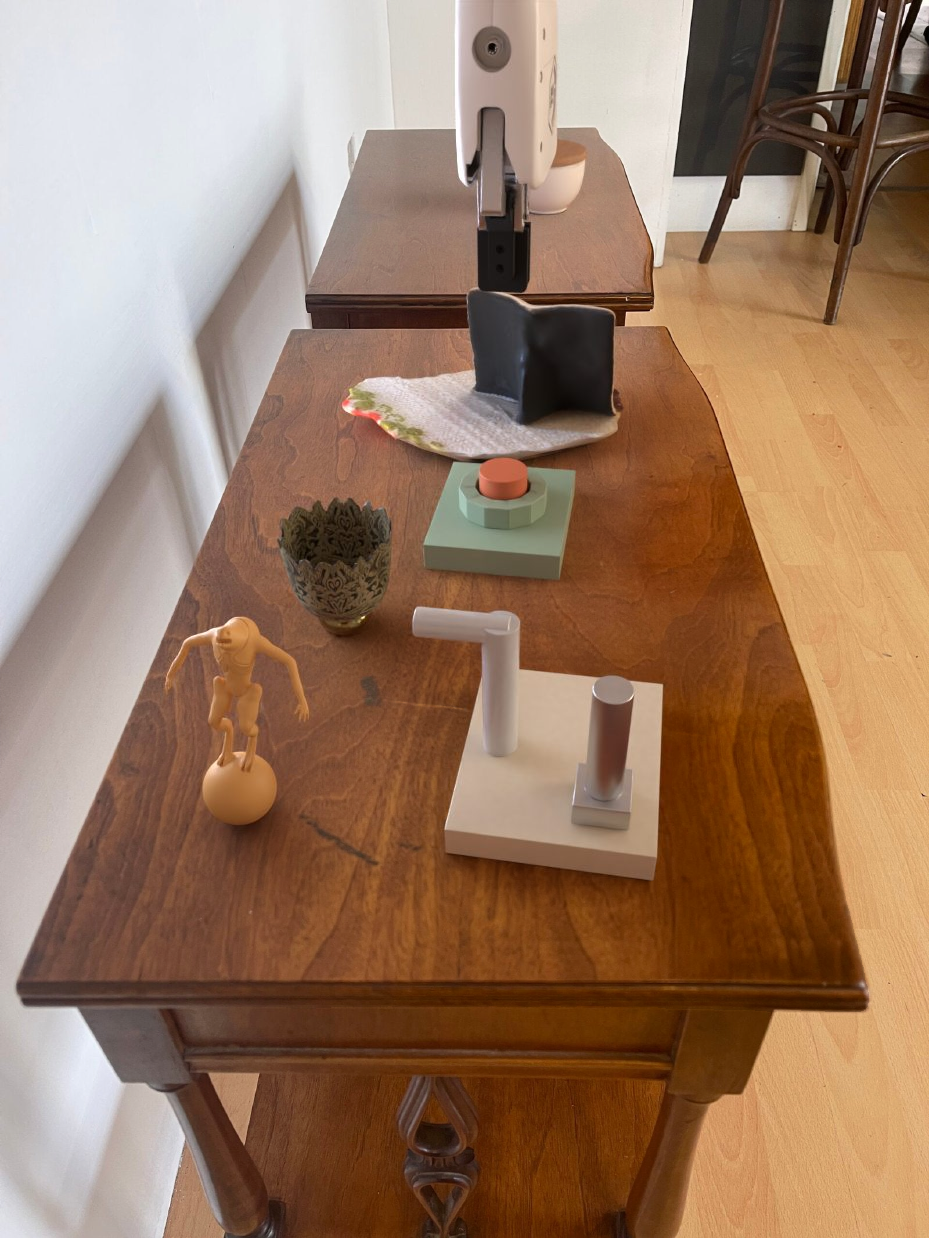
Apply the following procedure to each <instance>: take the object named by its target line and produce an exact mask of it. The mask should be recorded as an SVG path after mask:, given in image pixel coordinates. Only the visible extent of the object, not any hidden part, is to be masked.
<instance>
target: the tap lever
mask: <svg viewBox="0 0 929 1238" xmlns="http://www.w3.org/2000/svg"><path fill="white" fill-rule="evenodd" d="M629 681H630V680H629V679H627V678H625V677H623V676H620V675H604V676H601V677H599V679H598V680H597V681H596V682H595V683H594V685H593V688H592V700H591V712H590V724H589V736H588V748H587V760H586V764H584V763H578V764H577V771H576V779H575V787H574V795H573V803H572V816H571V823H574V824H581V825H589V826H597V827H605V828H613V829H621V830H629V825H630V817H631V807H632V791H633V775H634V770H633V769H626V759H627V751H628V743H629V735H630V727H631V718H632V710H633V702H634V694H635V690H634V687H633V685H632V684H631V683H630V682H629Z"/></svg>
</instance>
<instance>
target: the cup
mask: <svg viewBox="0 0 929 1238" xmlns="http://www.w3.org/2000/svg"><path fill="white" fill-rule="evenodd" d="M373 509H374V508H373V506H372V503H371V501H370V500H367V501H366V502H365V503H364V504H363V506H362V508H361V507H360V505H359V504H357V503H356V501H355V500H354V498H352V497H347V498H346V500H345V502H344V501H342V500H341V499H340V498H339V497H338V496H335V497H333V498H332V499H331V501H330V502H329V504H328V505H327V510H326V508H325V507H323V504H322V501H321V500H319V499H317V500H316V501H314V503H313V505H312V508H311V510H308V509H306V508H304V507H303V506H298V505H297V506H294V508H293V509H292V511H290V514H289V515H288V518H285V517H282V518H280V520H279V528H280V531H281V532H280V533H281V535H280V536H279V537H275V540H276V543H277V545H278V548H279V551H280V555H281V558H282V560H283V565H284V568H285V570H286V574H287V576H288V579H289V582H290V585H291V588H292V590H293V592H294V595H295V597H296V599H297V600H298V602H299V603H300V605H301V606H302V607H303V608H304V610H305V611H307V612H308V613H310V615H312V616H314V617H316V618H318V621H319V623H320V625H321V626H322V628H323V629H325V630H326V631H327V632H328V633H330V634H331V635H335V636H343V637H344V636H352V635H355V634H358V633H360V632H362V631H363V630H364V629H366V628H367V627H368V625H369V624H370V622H371V619H372V617H373V612H374V610H376V608H378V607H379V606H380V604H381V602H382V601H383V600H384V598H385V595H386V593H387V591H388V587H389V581H390V576H391V566H392V548H393V547H392V544H393V533H392V530H393V528H392V518H391V517H388V513H387V510H386V508H385V507H383V506H381V507H379V508H376V509H374V510H373Z"/></svg>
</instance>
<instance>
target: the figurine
mask: <svg viewBox="0 0 929 1238" xmlns="http://www.w3.org/2000/svg"><path fill="white" fill-rule="evenodd" d="M207 645H212V651H213V657H214V659H215V661H216V663H217V664H218V666H220V669H221V672H222V673H223V675H224V676H220V675H217V676H215V677H214V678H213V680H212V683H213V696H212V700H211V705H210V712H209V716H208V718H207V722H208V724H209V725H210V727H211V728H212V729H214V730H218V731H221V732H225V733H224V738H223V744H222V745H223V746H222V750H221V754H220V755H219V756H218V757H217V760H215V761H214V762H213V763H212V764H211V765H210V767H209V768H208V770H207V771H206V773H205V775H204V778H203V782H202V797H203V798H202V799H203V801H204V804H205V806H206V808H207V809H208V812H210V813H211V815H213V817H214V818H216V819H217V820H219V821H221V822H222V823H224V824H227V825H233V826H245V825H249V824H252V823H255V822H257V821H258V820H259V819H262V818H263V817H264V816H265V815H266V814H267V813H268V812H269V811H270V809H271V808H272V806H273V804H274V803H275V800H276V798H277V797H276V796H277V792H278V783H277V777H276V774H275V772H274V770H273V768H272V767H271V765H270V764H269V763H268V762H267V761H266V760H265V759H264V758H263V757H262V756H260V755H257V754H256V751H257V744H258V734H259V726H258V725H257V724H256V721H257V718H258V715H259V708H260V700H261V698H262V696H263V687H262V686H261V685H260V684H259V683H256V682H254V683H251V679H252V672H253V669H254V666H255V663H256V659H257V654H262V655H265V656H267V657H268V658H270V659H272V660H274V661H276V662H278V663H280V664H282V665H285V666H286V669H287V672H288V676H289V677H290V681H291V686H292V689H293V692H294V694H295V696H296V699H297V700H298V703H299V704H298V705H297V706H296V708H295V710H294V713H293V714H294V715H296V714H297V713H298V712H299V714H298V715H299V716H298V723H301V721H302V719H303V723H305V722H306V720H308V721H309V718H310V710H309V706H308V702H307V700H306V697H305V692H304V687H303V684H302V681H301V677H300V675H299V669H298V664H297V661H296V659H294V657H293V656H291V655H290V654H289V653H287V651H284V650H283V649H281V648H280V647H278V646H276V645H274V644H273V643H271V642H270V641H269V639H267V637H264V636H263V635H261V633H260V630H259V627H258V625H257V624H256V623H255V622H254V621H253V620H252V619H250V618H249V617H246V616H235V617H232V618H231V619H229V620H228V621H227V622H226V623H225V624H223V625H222V626H218V627H213V628H211V629H209V630H207V631H205V632H201V633H197V634H194V635H191V636H189V637H187V638H186V639H185V640H184V641H183V642H182V645H181V647H180V650H179V652H178V654H177V655H176V657H175V659H174V660H173V661H172V663H171V664H170V668H169V670H168V672H167V675H166V678H165V685H164V694H165V695H166V696H168V694H169V690H170V689H171V687H172V678H173V677H174V675H176V674H177V672H178V671H179V670H180V669H181V667H182V665H183V664H184V662H185V660H186V658H187V656H188V655H189V653H190V649H191V648H192V647H201V646H207ZM233 697H234V698H239V699H238V701H237V702H236V707H235V711H236V716H237V717H238V725H239V729H240V731H241V732H242V734H243V735H244V736H247V737H248V739H247V745H246V750H245V751H234V752H233V745H234V734H235V733H234V732H235V730H234V726H233V722H232V720H231V719H229V718H228V717H224V716H225V715H226V714H228V713H229V712H230V711H231V709H232V704H233ZM302 717H303V718H302Z"/></svg>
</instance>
